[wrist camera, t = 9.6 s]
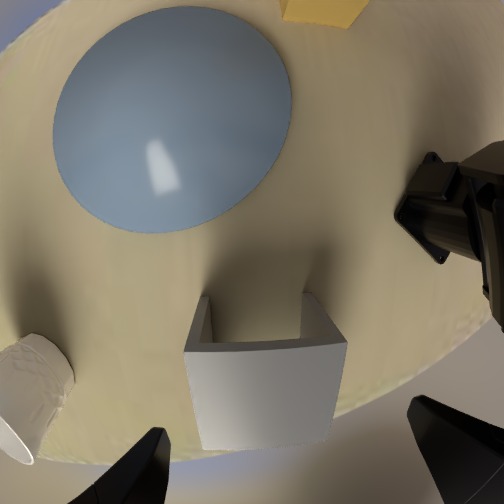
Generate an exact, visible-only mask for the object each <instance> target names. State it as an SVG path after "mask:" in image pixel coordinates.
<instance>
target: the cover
mask: <svg viewBox="0 0 504 504" xmlns="http://www.w3.org/2000/svg"><path fill="white" fill-rule="evenodd" d="M347 344H348V342H347V340H346V339H345V338H344V336H343V335H342V334H341V332H340V331H339V329H338V328H337V327H336V325H335V324H334V323H333V321H332V320H331V319H330V317H329V316H328V314H327V313H326V312H325V310H324V309H323V308H322V306H321V305H320V304H319V302H318V301H317V300H316V298H315V297H314V296H313V294H312V293H311V292H307V293H302V312H301V330H300V339H289V340H275V341H258V342H233V343H213V336H212V325H211V313H210V300H209V297H200V299H199V302H198V305H197V309H196V312H195V315H194V318H193V322H192V325H191V328H190V331H189V335H188V338H187V341H186V345H185V348H184V352H183V353H184V359H185V365H186V371H187V376H188V382H189V387H190V393H191V398H192V403H193V408H194V412H195V417H196V422H197V426H198V430H199V435H200V439H201V443H202V447H203V450H250V449H266V448H278V447H287V446H295V445H302V444H309V443H316V442H322V441H327V438H328V435H329V431H330V427H331V423H332V419H333V415H334V411H335V407H336V402H337V398H338V393H339V388H340V383H341V378H342V373H343V367H344V362H345V356H346V350H347Z"/></svg>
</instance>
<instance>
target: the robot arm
mask: <svg viewBox="0 0 504 504" xmlns="http://www.w3.org/2000/svg"><path fill="white" fill-rule="evenodd" d="M432 157H433V160H432ZM401 213H402V219H400V214H401ZM394 219H395V221H396V222H397V223H398V224H399V225H400V226H401V227H402V228H403V229H404V230H405V231H406V232H407V233H408V234H409V235H410V236H411V237H412V238H413V239H414V240H415V241H416V242H417V243H418V244H419V245H420V246H421V247H422V248H423V249H424V250H425V251H426V252H427V253H428V254H429V255H430V256H431V257H432V258H433V259H434V261H435V262H436V263H438V264H443V263H444V262H445V261H446V259H447V257H448V255H449V254H450V252H453V253H456V254H459V255H462V256H465V257H468V258H470V259H473V260H476V261H479V262H481V264H482V273H483V284H484V285H483V286H482V288H483V294H484V295H485V297H486V298H487V299H488V300H489V303H490V309H491V312H492V316H493V317H494V318H495V320H496V321H497V322H498V324H499V325H500V326H501V330H502V332H503V333H504V140H503V141H498V142H493V143H491V144H489V145H488V146H486V147H485V148H483V149H481V150H480V151H478V152H477V153H475V154H473V155H472V156H470V157H469V158H467V159H465V160H464V161H462V162H460V163H458V162H445V163H444V162H443V161H442V160H441V158H440V157H439V156H438V155H437V154H436V153H435V152H429V153H427V155H426V157H425V159H424V161H423V163H422V164H421V165H419V167H418V169H417V171H416V173H415V175H414V176H413V178H412V180H411V182H410V184H409V186H408V187H407V189H406V194H405V196H404V198H403V199H402V201H401V203H400V204H399V206H398V208H397V210H396V211H395V214H394ZM440 257H441V259H440ZM407 418H408V420H409V423H410V426H411V429H412V431H413V434H414V437H415V440H416V443H417V445H418V447H419V450H420V452H421V454H422V456H423V458H424V460H425V462H426V464H427V466H428V468H429V471H430V473H431V475H432V477H433V479H434V481H435V484H436V486H437V488H438V490H439V492H440V495H441V497H442V499H443V501H444V504H504V429H503V428H500V427H497V426H494V425H492V424H489V423H487V422H485V421H482V420H480V419H477V418H475V417H472V416H470V415H468V414H465V413H463V412H460V411H458V410H456V409H454V408H451V407H449V406H447V405H445V404H442V403H440V402H438V401H436V400H434V399H431V398H429V397H427V396H425V395H419V396H416V397H414V398H413V399H412V400H411V403H410V406H409V408H408V411H407ZM170 450H171V443H170V440H169V437H168V435H167V432H166V430H165V429H164V428H161V427H153V428H151V429H150V430H149V431H148V432H147V433H146V434H145V435H144V436H143V437H142V438H141V439H140V440H139V441H138V442H137V443H136V444H135V445H134V446H133V447H132V448H131V449H130V450H129V451H128V452H127V453H126V454H125V455H124V456H123V457H121V458H120V459H119V460H118V461H117V462H116V463H115V464H114V465H113V466H112V467H111V468H110V469H109V470H108V471H107V472H105V473H104V474H103V475H102V476H101V477H100V478H99V479H98V480H97V481H95V482H94V484H92V485H91V486H90V487H89V488H87V489H86V490H85V491H84V492H83V493H81V494H80V495H79V496H78V497H76V498H75V499H73V500H72V501H71V502H69V503H68V504H164V502H165V497H166V491H167V486H168V480H169V464H170Z"/></svg>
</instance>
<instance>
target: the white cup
mask: <svg viewBox="0 0 504 504" xmlns="http://www.w3.org/2000/svg"><path fill="white" fill-rule="evenodd" d="M74 385H75V382H74V374H73V370H72V368H71V366H70V364H69V362H68V360H67V359H66V357H65V356H64V355H63V354H62V352H61V351H60V350H59V349H58V348H57V346H56V345H55V344H53V343H52V342H50V341H49V340H48V339H46V338H45V337H43V336H41V335H37V334H33V333H31V334H29V335H27V336H25V337H23V338H21V339H20V340H19V341H17V342H16V343H15V344H13V345H10V346H8V347H7V348H6V349H4V350H3V351H1V352H0V449H2V450H3V451H4V452H6V453H7V454H8V455H9V456H11V457H12V458H14V459H16V460H17V461H19V462H22V463H24V464H28V465H32V464H33V463H34V461H35V459H36V457H37V455H38V453H39V451H40V449H41V447H42V445H43V443H44V441H45V440H46V438H47V436H48V434H49V432H50V431H51V429H52V427H53V425H54V422H55V421H56V419H57V418H58V415H59V413H60V411H61V410H62V408H63V406H64V402H65V400H66V398H67V397H68V395H69V393H70V392H71V390H72V388H73V386H74Z"/></svg>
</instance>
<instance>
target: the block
mask: <svg viewBox="0 0 504 504" xmlns="http://www.w3.org/2000/svg"><path fill="white" fill-rule="evenodd" d="M369 1H370V0H280V3H281V12H282V20H286V21H297V22H306V23H314V24H321V25H327V26H333V27H339V28H344V29H348V28H349V27H350V25H351V24H352V23H353V21H354V20H355V19H356V18H357V16H358V15H359V14H360V13H361V11H362V10H363V9H364V8H365V6H366V5H367V4H368V3H369Z"/></svg>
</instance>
